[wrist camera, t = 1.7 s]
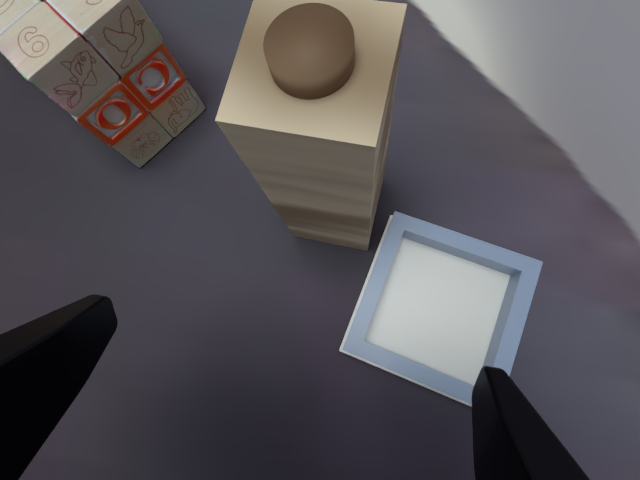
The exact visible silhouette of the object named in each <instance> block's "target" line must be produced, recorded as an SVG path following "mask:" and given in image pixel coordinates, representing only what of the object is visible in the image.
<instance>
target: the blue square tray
mask: <svg viewBox="0 0 640 480" xmlns="http://www.w3.org/2000/svg"><path fill="white" fill-rule="evenodd" d="M542 264H543V262H542V261H539V260H536V259H533V258H530V257H528V256H525V255H522V254H519V253H516V252H513V251H510V250H507V249H504V248H501V247H498V246H496V245H493V244H490V243H487V242H484V241H481V240H478V239H475V238H472V237H469V236H466V235H463V234H461V233H458V232H455V231H452V230H449V229H446V228H443V227H440V226H437V225H434V224H431V223H429V222H426V221H423V220H420V219H417V218H414V217H411V216H408V215H405V214H402V213H399V212H397V211H395V212H394V214H393V215H390V217H389V220H388V222H387V225H386V228H385V230H384V233H383V236H382V238H381V241H380V244H379V246H378V249H377V252H376V254H375V257H374V259H373V262H372V265H371V267H370V270H369V273H368V275H367V278H366V281H365V283H364V286H363V288H362V291H361V294H360V296H359V299H358V302H357V304H356V307H355V310H354V312H353V315H352V317H351V320H350V323H349V325H348V328H347V331H346V333H345V336H344V339H343V341H342V344H341V346H340V349H339V351H341V352H343V353H345V354H348V355H350V356H352V357H355V358H357V359H359V360H362V361H364V362H367V363H369V364H371V365H374V366H376V367H378V368H381V369H383V370H385V371H388V372H390V373H393V374H395V375H397V376H400V377H402V378H404V379H407V380H409V381H411V382H414V383H416V384H419V385H421V386H423V387H426V388H428V389H430V390H433V391H435V392H437V393H440V394H442V395H445V396H447V397H449V398H452V399H454V400H456V401H459V402H461V403H463V404H466V405H468V406H471V407H472V391H473V387H474V385H475V382H476V380H477V378H478V375H479V373H480V370H481V368H482V367H483V366H491V367H496V368H501V369H503V370H504V371H505V372H506V373H507V374H508V375H509V376H510V373H511V370H512V366H513V363H514V359H515V356H516V352H517V349H518V346H519V342H520V339H521V335H522V332H523V328H524V325H525V322H526V318H527V315H528V311H529V308H530V305H531V301H532V298H533V294H534V291H535V287H536V284H537V281H538V277H539V274H540V270H541V267H542Z"/></svg>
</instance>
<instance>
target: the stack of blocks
mask: <svg viewBox="0 0 640 480" xmlns="http://www.w3.org/2000/svg"><path fill="white" fill-rule="evenodd" d="M162 41H163V38H162V36H161V34H160V33H159V31H158V30H157V28H156V27H155V25H154V24H153V22H152V21H151V19H150V18H149V16H148V15H147V13H146V12H145V10H144V9H143V7H142V6H141V4H140V3H139V1H138V0H0V53H1V54H3V55H4V56H5V57H6V58H7V59H8V60H9V62H10V63H11V64H12V65H13V66H14V67H15V68H16V69H17V71H18V72H19V73H20V74H21V75H22V76H23V77H24V78H25V79H26V80H27V81H28V82H30V83H31V84H32V85H34V86H35V87H36V88H38V89H39V90H40V91H41V92H42V93H44V94H45V95H47V96H48V97H49V98H51V99H52V100H53V101H54V102H56V103H57V104H58V105H60V106H61V107H62V108H63V109H65V110H66V111H68V112H69V113H70V115H71V116H72V117H73V118H74V119H75V120H76V121H77V122H78V123H79V124H81V125H82V126H83V127H85V128H86V129H87V130H88V131H90V132H91V133H92V134H94V135H95V136H96V137H98V138H99V139H100V140H102V141H103V142H104V143H106V144H107V145H108V146H111V148H113V149H114V150H115V151H117V152H118V153H119V154H121V155H122V156H123V157H125V158H126V159H127V160H129V161H130V162H131V163H133V164H134V165H135V166H136V167H138V168H141V167H142V166H143V165H144V164H145V163H146V162H148V161H149V160H150V159H151V158H152V157H153V156H154V155H155V154H157V153H158V152H159V151H160V150H161V149H162V148H163V147H164V146H165V145H166V144H167V143H168V142H170V141H171V140H172V138H174V137H176V136H177V135H178V134H179V133H180V132H181V131H182V130H184V129H185V128H186V127H187V126H188V125H189V124H190V123H191V122H192V121H193V120H195V119H196V118H197V117H198V116H199V115H200V114H201V113H202V112H203V111H204V110H205V108H206V107H205V105H204V104H203V102H202V101H201V99H200V97H199V96H198V94H197V93H196V92H195V90H194V89H193V87H192V86H191V85H190V83H189V82H188V80H187V77H186V76H185V74H184V72H183V71H182V69H181V68H180V66H179V65H178V63H177V62H176V60H175V59H174V58H173V56H172V55H171V53H170V52H169V50H168V49H167V47H166V46H165V44H164V43H163V42H162Z"/></svg>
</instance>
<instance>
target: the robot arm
mask: <svg viewBox="0 0 640 480" xmlns="http://www.w3.org/2000/svg"><path fill="white" fill-rule="evenodd" d="M116 328H117V317H116V314H115V311H114V308H113V304H112V301H111V299H110V298H109V297H106V296H101V295H90V296H87V297H85V298H83V299H80V300H78V301H76V302H74V303H71V304H69V305H67V306H64V307H62V308H60V309H58V310H55V311H53V312H51V313H49V314H46V315H44V316H42V317H39V318H37V319H35V320H33V321H30V322H28V323H26V324H24V325H21V326H19V327H17V328H14V329H12V330H10V331H8V332H5V333H3V334H1V335H0V480H18V479H19V478H20V476H21V475H22V474H23V472H24V471H25V469H26V468H27V466H28V465H29V464H30V462H31V461H32V459H33V458H34V456H35V455H36V454H37V452H38V451H39V449H40V448H41V446H42V445H43V444H44V442H45V441H46V439H47V438H48V436H49V435H50V434H51V432H52V431H53V429H54V428H55V426H56V425H57V424H58V422H59V421H60V419H61V418H62V416H63V415H64V414H65V412H66V411H67V409H68V408H69V406H70V405H71V404H72V402H73V401H74V399H75V398H76V396H77V395H78V394H79V392H80V391H81V389H82V388H83V386H84V385H85V383H86V381H87V380H88V378H89V376H90V375H91V373H92V371H93V369H94V368H95V366H96V364H97V362H98V361H99V359H100V357H101V355H102V354H103V352H104V350H105V348H106V346H107V345H108V343H109V341H110V339H111V338H112V336H113V334H114V332H115V330H116ZM472 424H473V451H474V470H475V478H476V480H590V479H589V478H588V476H587V475H586V474H585V473H584V471H583V470H582V469H581V467H580V466H579V465H578V464H577V462H576V461H575V460H574V459H573V457H572V456H571V455H570V453H569V452H568V451H567V450H566V448H565V447H564V446H563V444H562V443H561V442H560V441H559V439H558V438H557V437H556V436H555V434H554V433H553V432H552V430H551V429H550V428H549V427H548V425H547V424H546V423H545V421H544V420H543V419H542V418H541V416H540V415H539V414H538V412H537V411H536V410H535V409H534V407H533V406H532V405H531V404H530V402H529V401H528V400H527V398H526V397H525V396H524V395H523V393H522V392H521V391H520V389H519V388H518V387H517V386H516V384H515V383H514V382H513V381H512V379H511V378H510V377H509V375H508V374H507V373H506V372H505V371H504V370H503V369H501V368H496V367H491V366H483V367H482V368H481V370H480V373H479V375H478V378H477V380H476V382H475V385H474V387H473V391H472Z"/></svg>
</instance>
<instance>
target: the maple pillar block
mask: <svg viewBox="0 0 640 480" xmlns="http://www.w3.org/2000/svg"><path fill="white" fill-rule="evenodd" d="M406 8H407V4H402V3H393V2H383V1H374V0H253V3H252V6H251V9H250V13H249V16H248V19H247V22H246V25H245V28H244V31H243V35H242V38H241V41H240V44H239V47H238V50H237V53H236V56H235V60H234V63H233V66H232V69H231V72H230V75H229V78H228V82H227V85H226V88H225V91H224V94H223V97H222V100H221V103H220V107H219V110H218V113H217V116H216V119H215V122H216V123H217V124H218V126H219V127H220V129H221V130H222V132H223V133H224V135H225V136H226V138H227V139H228V141H229V142H230V143H231V145H232V146H233V148H234V149H235V151H236V152H237V154H238V155H239V157H240V158H241V159H242V161H243V162H244V164H245V165H246V167H247V168H248V170H249V171H250V173H251V174H252V176H253V177H254V178H255V180H256V181H257V183H258V184H259V186H260V187H261V189H262V190H263V192H264V193H265V194H266V196H267V197H268V199H269V200H270V202H271V203H272V205H273V206H274V208H275V209H276V211H277V212H278V213H279V215H280V216H281V218H282V219H283V221H284V222H285V224H286V225H287V227H288V228H289V229H290V231H291V232H292V234H293V235H294V236H297V237H302V238H307V239H312V240H316V241H321V242H326V243H331V244H336V245H341V246H346V247H351V248H355V249H360V250H365V251H368V248H369V243H370V238H371V234H372V229H373V224H374V219H375V215H376V210H377V205H378V200H379V196H380V191H381V186H382V182H383V175H384V168H385V160H386V153H387V146H388V139H389V131H390V124H391V117H392V110H393V102H394V95H395V88H396V81H397V73H398V66H399V59H400V52H401V44H402V37H403V30H404V22H405V15H406Z"/></svg>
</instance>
